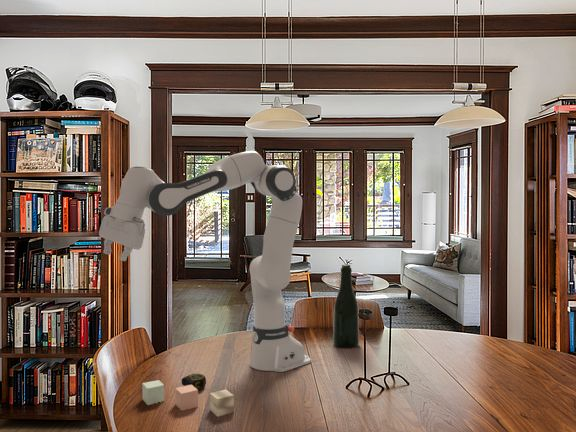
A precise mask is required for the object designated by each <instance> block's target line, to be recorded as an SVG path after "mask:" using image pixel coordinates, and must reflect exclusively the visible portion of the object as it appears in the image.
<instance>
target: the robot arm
mask: <svg viewBox="0 0 576 432" xmlns="http://www.w3.org/2000/svg"><path fill="white" fill-rule="evenodd" d="M249 183H250V185H251V186H252V187H253V188H254V190H255V191H256V193H258V194H259V195H260V196H266V197H270V198H271V203H272V204H271V210H270V213H269V217H268V219H267V223H266V227H265V231H264V232H263V233H264V234H263V239H262V240H263V245H262V252H261V255H258V256H257V257H254V258H253V259H252V260H251V262H250V264H249V275H250V285H251V293H252V299H253V301H252V302H253V326H252V341H253V344H252V353H251V358H250V361H249V366H250V367H251V368H253V369H254V370H258V371H264V372H265V371H266V372H267V371H268V372H279V373H284V372H288V371H291V370H293V369H296V368H299V367H301V366H304V365H307V364H310V363H312V362H311V360H312V359H311V358H310V357H309V356H308V355H307V354H305V349H304V346H303V344H302V343H301V342H300V341H299V340H297V339H296V338H294V337H293V336H292V335H290V333H293V332H294V331H295V327H294V326H292V325H287V324H285V323H286V322H285V316H286V315H285V313H286V312H285V310H286V309H285V301H284V297H283V293H282V290H283V289H285V288H286V287H287V286H288V285H289V284H290V281H291V280H292V279H291V278H292V277H291V276H292V275H291V267H292V266H291V265H292V255H293V248H294V244H295V243H294V242H295V238H296V236H297V233H298V227H299V225H300V221H301V217H302V210H303V198H302V196H301V195H300V194H299V193H298V192H297V179H296V174H295V173H294V172H293V170H292V169H290V168H289V167H287V166H286V165H282V164H281V165H280V164H276V165H275V164H273V165H271V164H270V165H267V164H266V163H265V162H264V158H263V157H262V155H260V153H259V152H257V151H255V150H247V151H243V152H242V151H241V152H238V153H234V154H232V155H228V156H225V157H223V158H220V159H219V160H217V161H215V162H213V163H212V164H211V165H210V166H209V167H208V169H207V170H206V171H205V172H203V173H201V174H200V175H198V176H194V177H192V178H189V179H186V180H185V181H181V182H177V183H175V182H165V181H163V180H162V179H161V178H160V177H159V176H158V175H157V174H156V173H155V171H154V169H152V168H149V167H146V166H145V167H144V166H132V167H130V168H129V169H128V170H127V171H126V174H125V175H124V177H123V180H122V183H121V186H120V190H119V196H118V198H117V200H116V202H115V205H112V206H109V207H106V208H105V209H104V212H103V214H104V216H103V218H102V220H101V224H100V226H99V231H98V235H99V236H98V237H100V238H103V239H104V241H103V244H104V248H103V254H105V255H108V256H111V253H112V248H111V247H112V244H113V242H114V243H116V244H119V245H121V246H124V247H123V251H122V253H119V257H118V260H119V261H122V262H126V261H127V259H128V257H129V255H130V254H131V253H132V251H133V250H141V248H142V247H143V243H144V240H145V233H146V229H145V227H146V224H145V221H144V219H142V218H143V215H144V211H145V209H147V208H148V209H150V210H151V211H152V212H153V213H156V215H157V214H158V215H160V216H162V217H163V216H164V217H168V216H172V215H175V214H176V213H178V212H179V211H180V210H181V209H182V207H184V205H185V204H187V203H189V202H190V201H192V200H196V199H198V198H200V197H202V196H205V195H207V194H209V193H215V192H224V191H225V192H226V191H230V190H233V189H236V188H237V189H238V188H239V187H242V186H244V185H246V184H249ZM289 332H290V333H289Z"/></svg>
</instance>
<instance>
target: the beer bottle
mask: <svg viewBox="0 0 576 432" xmlns="http://www.w3.org/2000/svg"><path fill="white" fill-rule="evenodd" d="M352 271H353V270H352V267H351V264H348V263H347V264H342V265H341V268H340V285H339V289H338V290H339V291H337V292H338V293H337V295H336V297H335V300H334V306H333V320H332V321H333V325H332V327H333V329H332V330H333V332H332V333H333V334H332V338H333V339H332V340H333V341H332V342H333V345H334V346H335V347H336V348H341V349H353V348H356V347H358V346H359V345H360V329H359V328H360V322H359V321H360V320H359V319H360V318H359V316H360V313H359V304H358V300H357V297H356V295H355V292H354V288H353V283H352ZM358 314H359V316H358Z"/></svg>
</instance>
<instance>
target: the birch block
mask: <svg viewBox="0 0 576 432" xmlns="http://www.w3.org/2000/svg"><path fill="white" fill-rule="evenodd" d="M234 399H235V395H234V394H232V393H231V392H230V391H229V390H227V389H221V390H217V391H213V392H210V393H209V410H210V411H211V413H213V414H214V415H215V416H216V417H222V416H226V415H229V414H233V413H234V411H235V408H234V407H235V406H234V405H235V403H234V402H235V400H234Z"/></svg>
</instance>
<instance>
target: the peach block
mask: <svg viewBox="0 0 576 432" xmlns="http://www.w3.org/2000/svg"><path fill="white" fill-rule="evenodd" d="M174 394H175V399H174V400H175V404H174V405H175V406H176V407H177V408H178V409H179V410H180V411H182V410H183V411H186V409H187V410H190V409H194V408H198V407H199V389H198V390H197V389H196V388H195V387H194V386H193V385H187V386H183V385H182V386H179V387H175V393H174ZM183 411H182V412H183Z"/></svg>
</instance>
